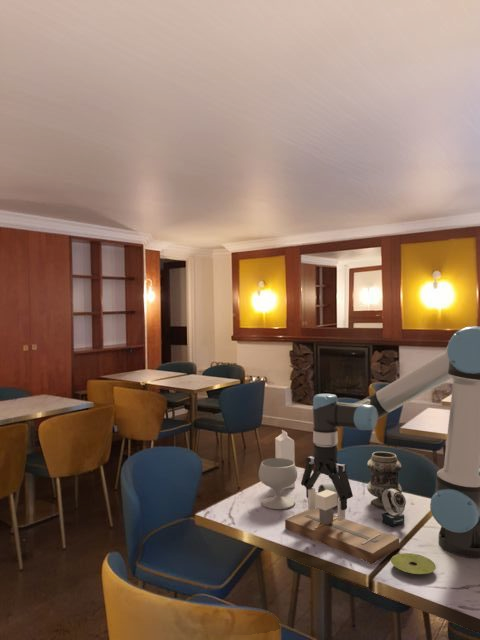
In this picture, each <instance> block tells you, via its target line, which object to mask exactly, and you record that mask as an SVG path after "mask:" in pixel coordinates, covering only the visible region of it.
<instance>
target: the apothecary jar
mask: <svg viewBox="0 0 480 640" xmlns="http://www.w3.org/2000/svg"><path fill="white" fill-rule="evenodd" d="M367 467H368V469H369V470H370V481H369V482H368V483H367V486H366V487H367V491H368V492H369V494H370V495H372V496H374V497H375V498H373V499H372V500H370V505H371V506H372V507H375V508H377V509H381V510H385V508H384V505H383V502H382V494H383V492H384V491H385V490H388V489H395V490H397V491H399V492H400V493H401V494H403V487H402V486H401V484H400V483H399V472H400V471H401V470H402V463H401V462H400V461H399V460H398V458H397V455H396V453H393V452H388V451H375V452H372V454H371V458H370V459H369V460H368V461H367ZM387 497H388V499H389V503H390V506H391V509H392V510H395V509H396V507H395V506H394V505H393V503H392V501H391V494H390V491H389V492H388V494H387Z"/></svg>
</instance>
